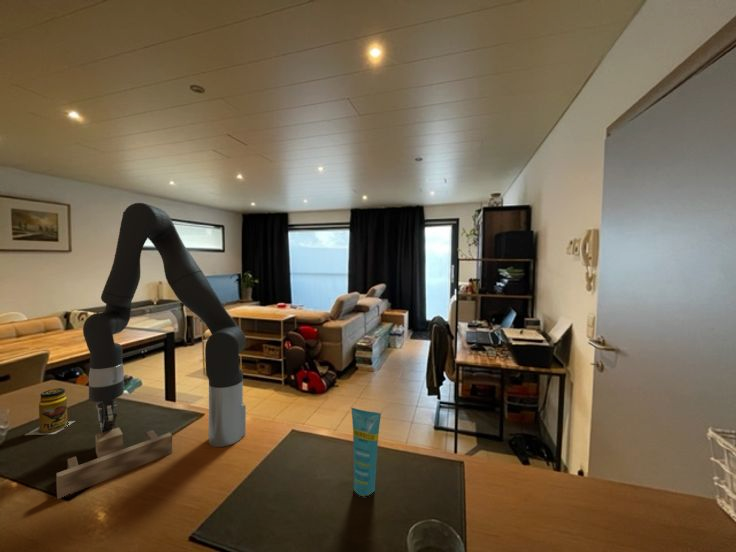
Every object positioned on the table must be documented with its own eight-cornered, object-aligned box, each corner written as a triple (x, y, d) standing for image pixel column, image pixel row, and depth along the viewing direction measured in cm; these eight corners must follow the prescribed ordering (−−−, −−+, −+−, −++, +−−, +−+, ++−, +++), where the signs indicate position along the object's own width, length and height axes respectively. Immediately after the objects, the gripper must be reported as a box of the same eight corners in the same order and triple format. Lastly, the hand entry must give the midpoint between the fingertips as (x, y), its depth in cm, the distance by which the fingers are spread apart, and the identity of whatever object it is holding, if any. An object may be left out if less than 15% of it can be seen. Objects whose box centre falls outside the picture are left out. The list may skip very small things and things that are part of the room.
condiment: (55, 434, 90) (55, 395, 90) (23, 435, 89) (22, 396, 89) (75, 421, 98) (75, 385, 97) (46, 423, 96) (45, 386, 96)
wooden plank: (162, 440, 88) (162, 423, 88) (172, 452, 82) (172, 435, 82) (54, 480, 71) (54, 459, 71) (57, 499, 65) (57, 477, 65)
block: (119, 444, 86) (118, 427, 85) (122, 451, 82) (122, 433, 82) (95, 452, 82) (95, 434, 82) (98, 460, 79) (98, 441, 78)
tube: (346, 493, 68) (347, 411, 68) (353, 479, 73) (354, 402, 72) (377, 501, 66) (378, 417, 66) (382, 486, 71) (384, 407, 70)
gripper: (128, 383, 84) (128, 443, 84) (118, 371, 92) (118, 426, 93) (92, 391, 78) (92, 456, 78) (85, 378, 87) (85, 436, 87)
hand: (106, 439), depth 86 cm, fingers closed
